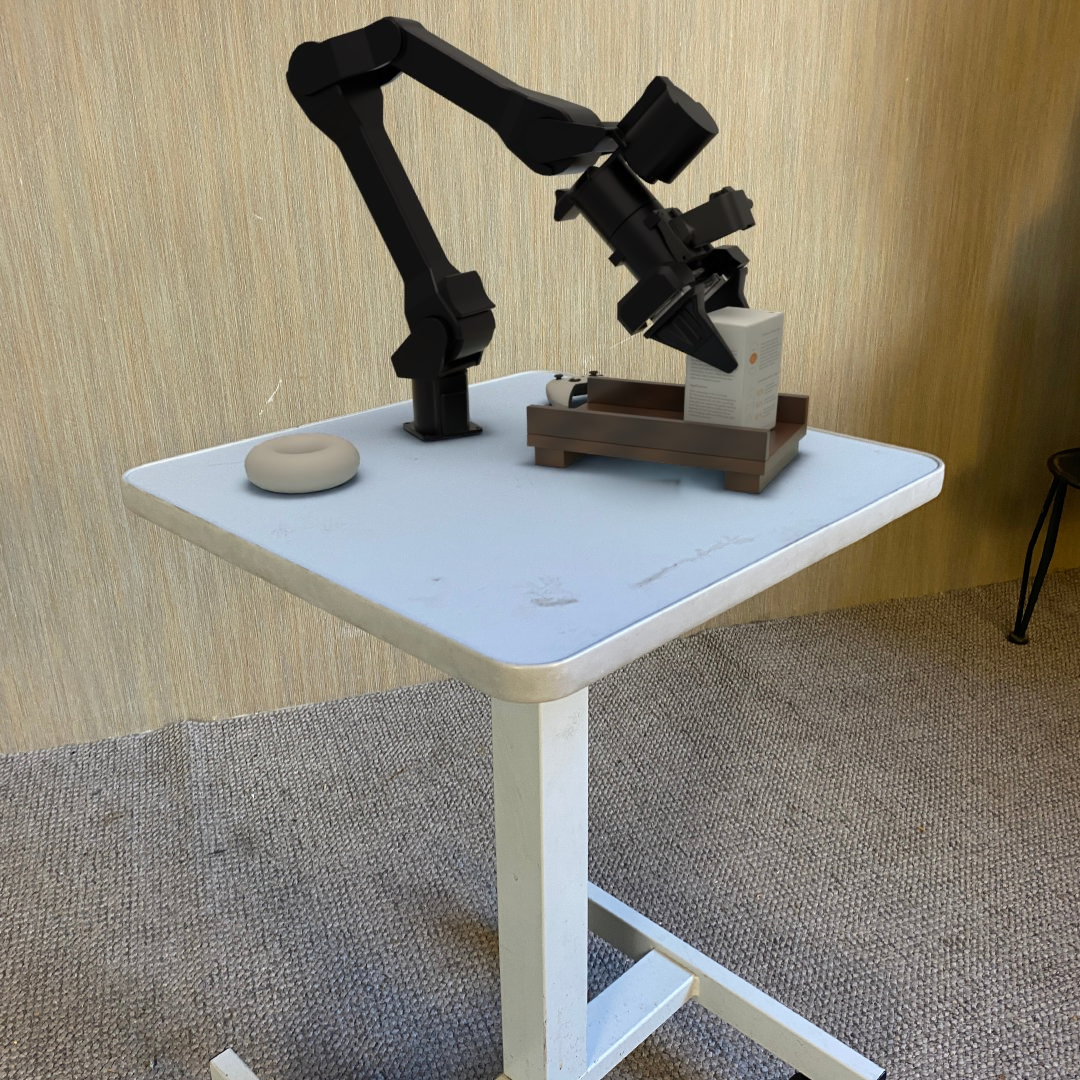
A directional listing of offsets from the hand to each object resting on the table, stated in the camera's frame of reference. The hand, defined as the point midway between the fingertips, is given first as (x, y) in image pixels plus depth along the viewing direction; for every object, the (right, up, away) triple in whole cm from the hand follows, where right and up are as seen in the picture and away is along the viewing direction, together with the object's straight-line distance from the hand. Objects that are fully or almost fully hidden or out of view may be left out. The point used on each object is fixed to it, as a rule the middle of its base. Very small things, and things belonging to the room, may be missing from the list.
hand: (749, 360), depth 90 cm
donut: (-39, -10, +3) cm, 40 cm away
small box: (-1, -6, +3) cm, 7 cm away
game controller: (-13, -1, +27) cm, 30 cm away
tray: (-6, -8, +7) cm, 12 cm away
